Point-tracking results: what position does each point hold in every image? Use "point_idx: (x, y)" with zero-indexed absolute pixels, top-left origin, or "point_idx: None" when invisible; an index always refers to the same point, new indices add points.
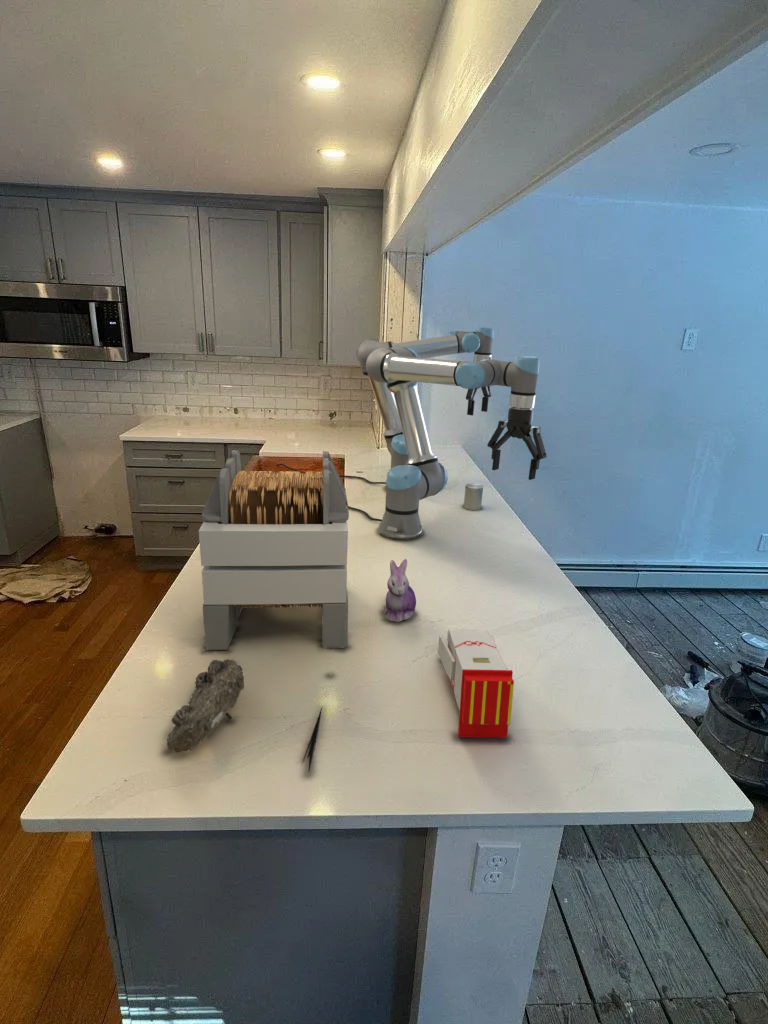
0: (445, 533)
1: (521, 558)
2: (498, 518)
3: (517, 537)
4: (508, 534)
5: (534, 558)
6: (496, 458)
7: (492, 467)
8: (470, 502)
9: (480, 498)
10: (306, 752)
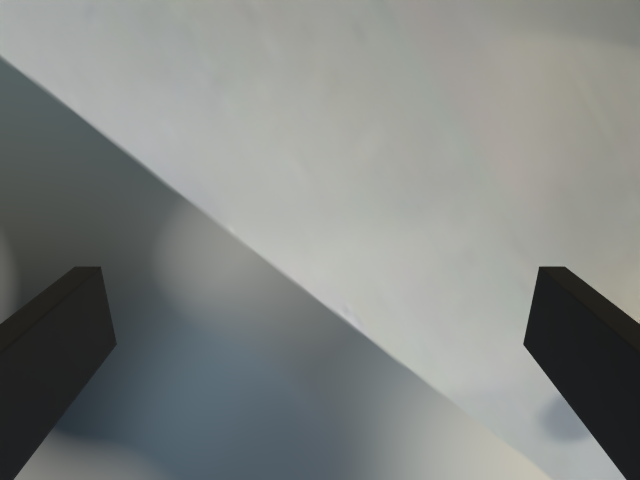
0: (574, 104)
1: (226, 132)
2: (486, 377)
3: (346, 285)
4: (383, 284)
5: (197, 170)
6: (623, 375)
7: (579, 280)
8: None
9: None
10: None
